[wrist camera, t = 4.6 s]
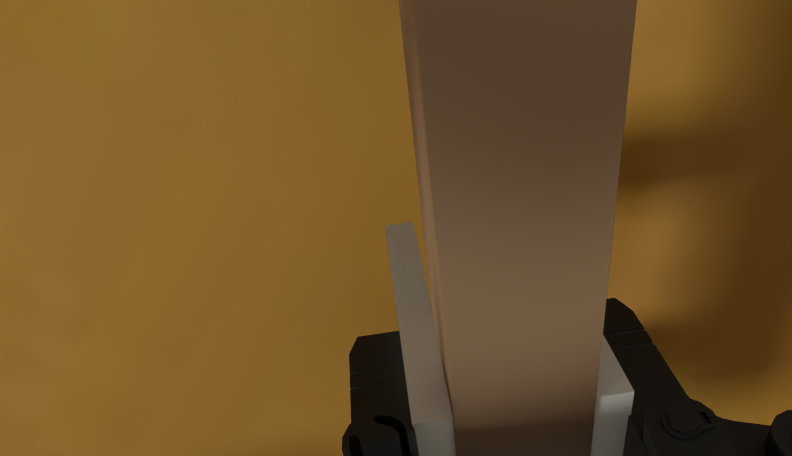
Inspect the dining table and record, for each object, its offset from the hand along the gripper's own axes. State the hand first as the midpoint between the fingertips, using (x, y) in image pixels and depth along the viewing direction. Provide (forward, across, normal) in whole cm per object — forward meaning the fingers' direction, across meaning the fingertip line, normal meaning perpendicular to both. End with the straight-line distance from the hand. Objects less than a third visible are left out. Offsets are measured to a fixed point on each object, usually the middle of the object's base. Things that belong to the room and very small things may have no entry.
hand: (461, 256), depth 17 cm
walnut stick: (-4, 0, 0) cm, 4 cm away
